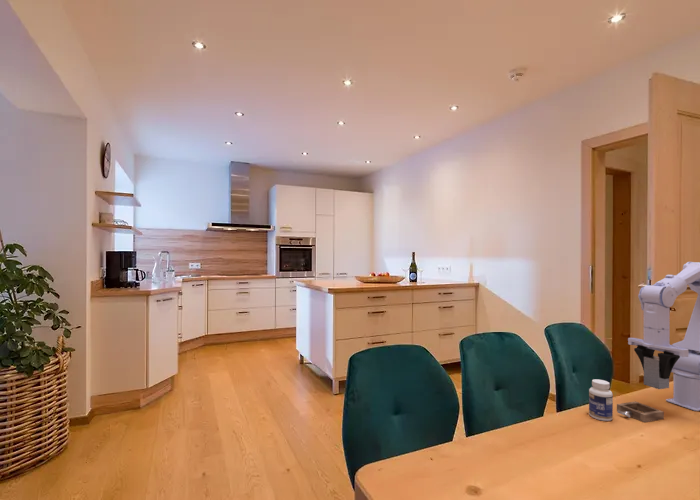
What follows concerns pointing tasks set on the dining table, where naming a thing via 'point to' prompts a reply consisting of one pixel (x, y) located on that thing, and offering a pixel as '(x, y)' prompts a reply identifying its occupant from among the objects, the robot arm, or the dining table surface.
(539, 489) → the dining table surface
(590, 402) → the pill bottle
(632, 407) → the walnut clamp block
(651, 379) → the steel post
